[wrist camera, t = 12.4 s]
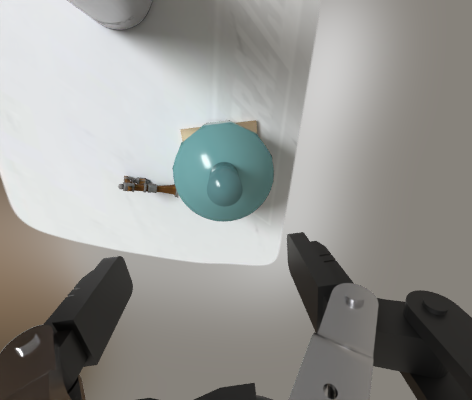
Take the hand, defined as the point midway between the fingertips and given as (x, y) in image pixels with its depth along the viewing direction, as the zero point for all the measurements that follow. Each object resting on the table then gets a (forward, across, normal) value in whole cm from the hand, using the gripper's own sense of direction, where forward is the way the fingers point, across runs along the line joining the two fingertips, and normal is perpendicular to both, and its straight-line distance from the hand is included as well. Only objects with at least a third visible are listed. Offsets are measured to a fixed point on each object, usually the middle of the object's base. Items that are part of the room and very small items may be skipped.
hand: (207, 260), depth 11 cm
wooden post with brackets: (+25, +10, +2) cm, 27 cm away
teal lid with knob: (+24, -1, 0) cm, 24 cm away
